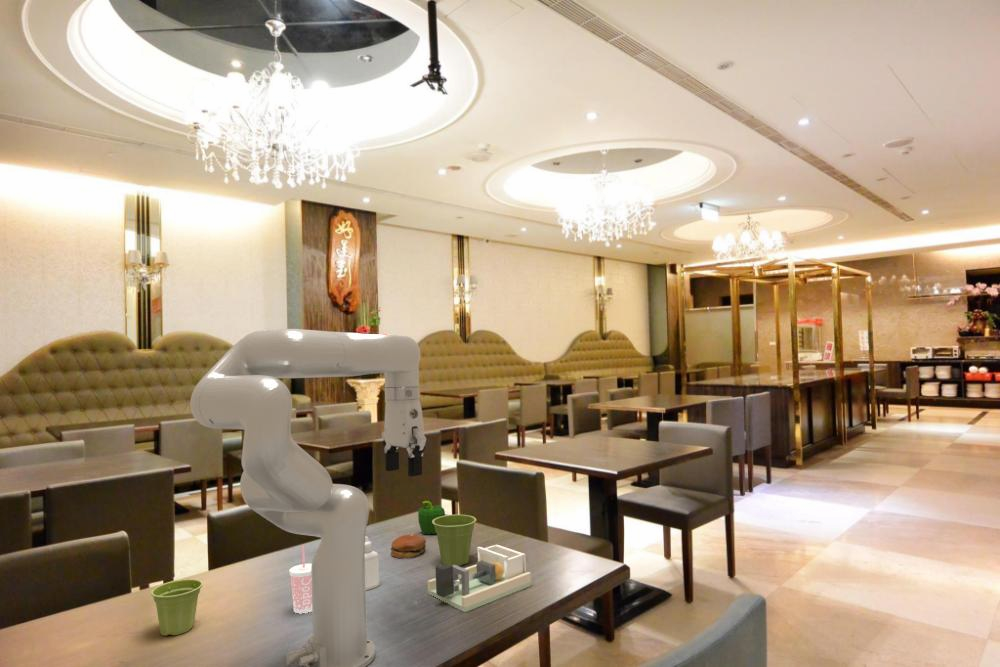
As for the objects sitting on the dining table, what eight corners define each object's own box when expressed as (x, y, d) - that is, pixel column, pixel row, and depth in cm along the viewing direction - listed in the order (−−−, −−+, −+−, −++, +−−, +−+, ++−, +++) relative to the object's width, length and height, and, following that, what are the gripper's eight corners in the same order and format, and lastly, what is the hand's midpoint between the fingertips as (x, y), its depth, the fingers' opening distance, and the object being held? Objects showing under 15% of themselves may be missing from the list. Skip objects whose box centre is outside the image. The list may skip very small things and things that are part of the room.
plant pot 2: (483, 565, 150) (482, 522, 151) (440, 573, 146) (438, 528, 147) (469, 552, 161) (468, 511, 162) (428, 559, 157) (427, 517, 157)
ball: (498, 562, 136) (509, 567, 139) (487, 558, 139) (498, 563, 142) (492, 579, 135) (503, 584, 137) (481, 574, 138) (492, 579, 140)
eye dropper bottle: (378, 589, 137) (377, 538, 138) (354, 592, 136) (353, 540, 137) (380, 582, 141) (378, 533, 142) (356, 584, 140) (355, 535, 141)
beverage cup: (288, 617, 124) (287, 551, 124) (291, 605, 130) (290, 542, 130) (318, 613, 125) (317, 547, 126) (319, 601, 131) (318, 539, 132)
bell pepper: (448, 528, 185) (447, 497, 185) (442, 536, 177) (441, 503, 177) (422, 528, 186) (421, 497, 186) (415, 536, 178) (414, 503, 178)
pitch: (464, 612, 123) (463, 575, 123) (427, 593, 134) (426, 559, 134) (531, 585, 136) (530, 552, 137) (493, 570, 147) (492, 539, 147)
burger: (391, 560, 157) (391, 543, 157) (390, 550, 166) (390, 533, 166) (428, 557, 159) (427, 540, 159) (424, 546, 168) (424, 530, 168)
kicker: (446, 601, 125) (445, 571, 126) (433, 594, 129) (432, 565, 129) (495, 582, 135) (494, 554, 135) (482, 577, 139) (481, 549, 139)
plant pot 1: (191, 615, 126) (191, 575, 127) (210, 627, 120) (210, 584, 121) (144, 632, 119) (143, 589, 120) (162, 645, 113) (161, 600, 114)
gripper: (437, 395, 124) (439, 475, 123) (397, 393, 137) (398, 466, 136) (407, 396, 119) (409, 480, 118) (368, 395, 132) (369, 470, 131)
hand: (403, 472), depth 127 cm, fingers open, 9 cm apart
